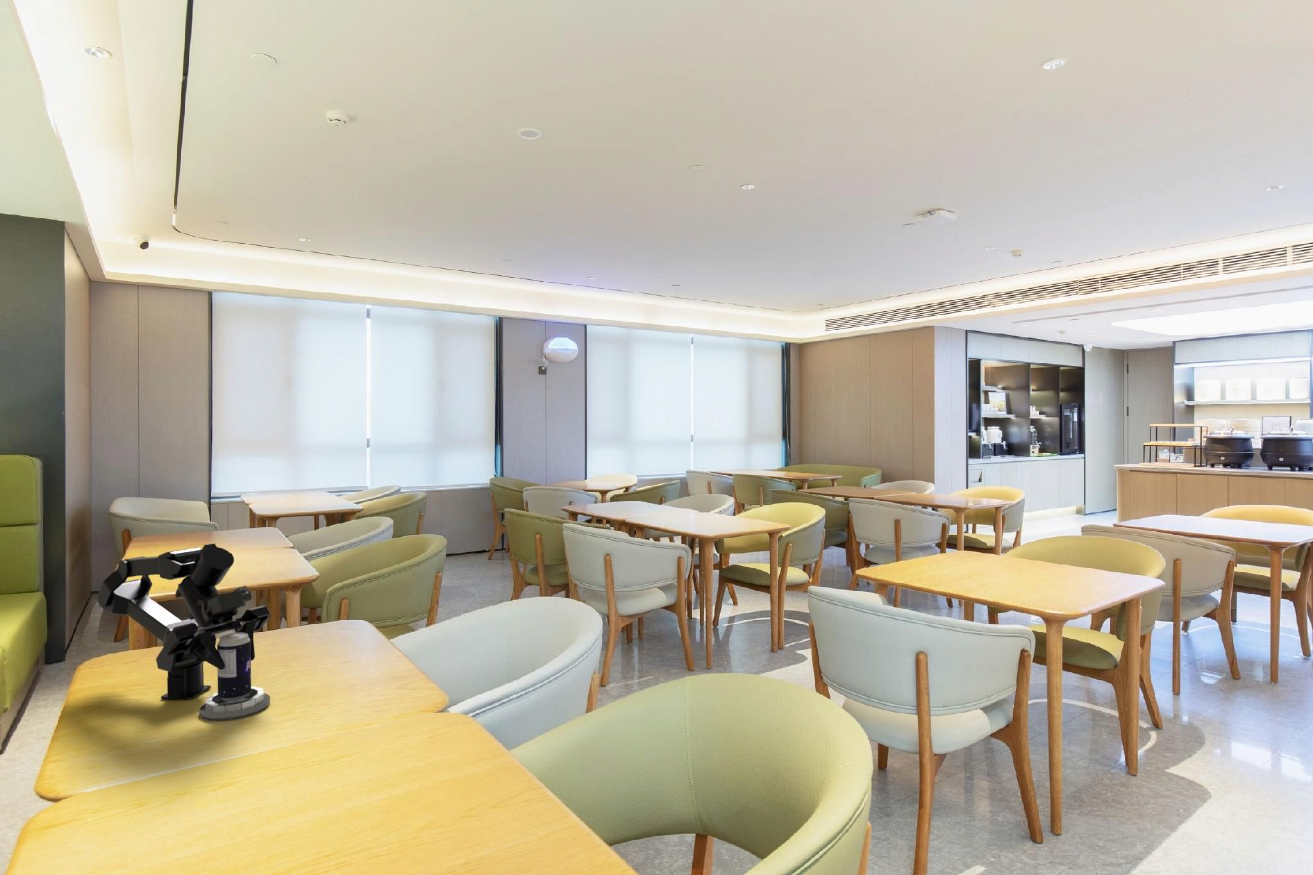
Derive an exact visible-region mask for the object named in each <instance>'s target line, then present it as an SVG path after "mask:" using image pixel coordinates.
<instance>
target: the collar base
mask: <svg viewBox="0 0 1313 875" xmlns="http://www.w3.org/2000/svg"><path fill="white" fill-rule="evenodd" d="M270 704H271V696H270V695H269V694H267V693H265V689H264V688H262V687H258V686H251V691H250V692H249V693H248V694H247V696H246V697H244V698H242V699H239V700H234V701H224V700H223V699H222V698H220V697H219V696H218V691H217V692H215V693H213V694H211V695H209V696H207V698H206V699H205V703H204V704H202V705H201V706H200V707H199V710H198V711H199V718H200V719H201V720H204V721H209V722H226V721H234V720H239V719H243V718H247V717H251V716H252V715H255V714H258V713H260V712H262V711H264V710H266V709H267V708H268V707H269V706H270Z"/></svg>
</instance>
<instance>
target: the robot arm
mask: <svg viewBox="0 0 1313 875" xmlns="http://www.w3.org/2000/svg"><path fill="white" fill-rule="evenodd" d="M234 562H235V557H234V555H233V553H231V552H230V551H229V550H227V549H225V548H223V547H218V546H217V544H216V543H214V542H213V543H208V544H203V547H202V548H200V547H198V546H197V547H196V546H195V547H190V548H184V549H177V550H172V551H166V552H163V553H161V554H158V556H156V555H155V556H143V555H141V556H136V557H130V558H125V559H123V560H121V561H119V563H118V564H117V568H116V569H115V570H114V571H113V572H112V573H111V574H110V575H108V577H106V578H105V579H104V580H103V582H102V584H101V586H100V589H99V591H98V593H97V602H98V605H99V606H100V607H101V608H102V609H103V610H104V611H105V612H107V613H110V614H112V615H119V616H121V615H122V616H128V617H130V618H131V619H132V620H133V621H135V622H136V623H138V624H139V625H140V626H142V627H143V628H144V629H146V630H147V631H148V632H150V633H151V635H152V634H153V635H154V636H155V637H156V638H157V639H159V641H161V642H162V644H163V647H162V649H161V650H160V651H159V653H158V655H157V656H156V658H155V661H156V666H157V669H159V670H161V671H166V672H167V677H166V682H167V683H166V690H167V693H164V694H163V695H161V696H160V699H161V700H192V699H194V698H196V697H198V696H199V695H201V694H203V693H204V692H206V691H208V690H210V689H211V688H212V686H211V685H208V684H207V685H205V683H204V682H205V681H204V662H206V663H208V664H210V665H211V666H212V667H215V668H216V669H217V668H218V669H220V670H223V669H224V668H225V665H224V662H223V660H222V658H221V656H220V654H219V653H218V651H217V645H216V644H217V637H216V635H218V634H221V633H225V632H229V631H232V630H233V631H235V633H247V634H248V637H249V639H250V640H251V662H252V661H254V660H255V658H256V653H255V644H254V643H255V642H254V640H255V639H254V634H255V633H256V632H258V631H260V630H261V629H262V628H263V627H264V625H265V624H266V622H267V621H268V620H269V619H270V617H271V616H272V612H271V611H270V609H269V608H268V606H266V605H258V606H255V607H251V608H248V609H246V610H245V611H244V613H243V614H242V616H241V617H238V618H233V617H234V616H236V615H237V614H238V609H240V608H241V607H245V606H246V603H248V602H250V601H252V593H251V590H250V589H249V588H248V586H247V585H243V586H238V587H237V588H235V589H234V590H233V591H230V592H225V593H219V591H218V589H217V587H216V586H218V585H219V584H221V582H222V580H223V579H224V578H225V577H226V575H227V573H228V572H229V571H230V569H231V567H232V566H233V564H234ZM157 575H159V577H160V579H163V580H164V579H165V580H168V581H173V580H177V579H182V578H183V579H182V580H181V582H180V583H177V589H176V591H175V594H174V597H175V598H181V597H182V599H183V600H184V603H185V604H186V605H187V608H188V610H189V611H190V613H189V614H188V616H187V617H188V619H184V620H181V619H179V618H178V617H177V616H175V615H174V614H173V613H171V612H170V611H169V610H167V609H166V608H164V607H163V606H162V605H160V604H158V603H157V602H156V601H155V600H153V599H152V598H150V597H149V593H150V591H151V589H152V586H153V582H152V580H151V579H150V576H157ZM138 576H141V578H140V579H139V578H138V579H137V578H136V579H132V580H128V578H132V577H138Z"/></svg>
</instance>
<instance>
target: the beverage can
mask: <svg viewBox="0 0 1313 875" xmlns="http://www.w3.org/2000/svg"><path fill="white" fill-rule="evenodd" d="M216 644H217V645H216V649H217V651H218V653H219V654H220V656H221V658H222V660H223V662H224V665H225V668H224V669H223V670H220V669H218V668H216V670H217V692H218V696H219V697H220V698H222V699H223V700H224V701H234V700H239V699H242V698H244V697H246V696H247V694H248V693H249V692H250V691H251V687H252V661H251V640H250V639H249V637H248V634H247V633H236V632H233V633H228V634H227V633H226V634H224V635H222V636H220V637H219V640H218V642H217V643H216Z"/></svg>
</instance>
